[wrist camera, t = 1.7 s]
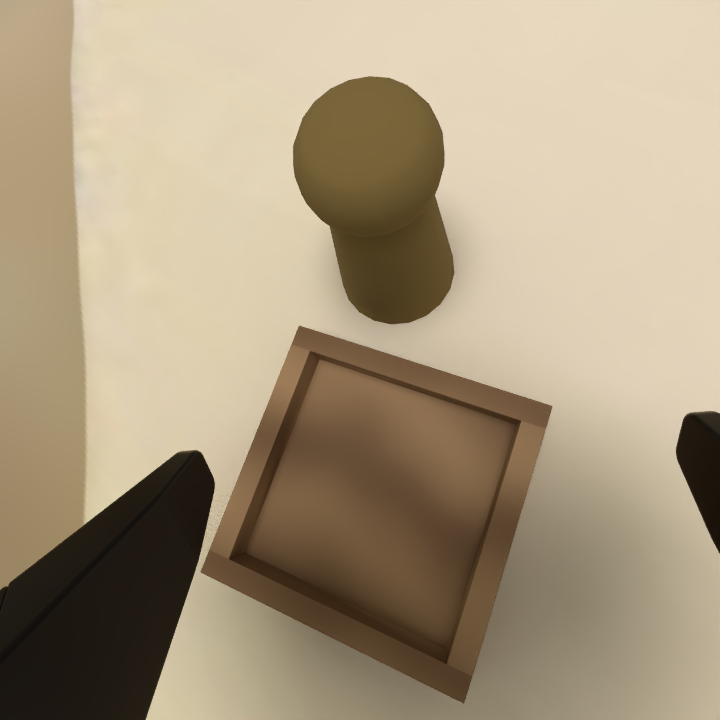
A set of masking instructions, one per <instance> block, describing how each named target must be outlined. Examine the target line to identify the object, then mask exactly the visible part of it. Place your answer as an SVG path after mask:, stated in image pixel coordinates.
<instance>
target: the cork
mask: <svg viewBox="0 0 720 720" xmlns="http://www.w3.org/2000/svg"><path fill="white" fill-rule="evenodd" d="M293 166H294V174H295V178H296V181H297V183H298V186H299V189H300V191H301V194H302V196H303V198H304V200H305V201H306V203H307V205H308V206H309V207H310V208H311V209H312V210H313V211H314V213H315V214H316V215H317V216H318V217H319V218H320V219H321V220H322V221H323V222H325V223H326V224H327V225H329V226H330V229H331V234H332V238H333V242H334V247H335V251H336V255H337V260H338V264H339V269H340V273H341V277H342V282H343V286H344V288H345V291H346V293H347V296H348V299H349V300H350V301H351V303H352V304H353V305H354V306H355V307H356V308H357V310H358V311H359V312H360V313H362V314H364V315H366V316H367V317H369V318H371V319H372V320H374V321H379V322H384V323H388V324H398V323H409V322H412V321H414V320H416V319H419V318H421V317H424V316H426V315H427V314H429V313H430V312H431V311H432V310H434V309H435V308H436V307H437V306H438V305H440V304H441V302H442V301H443V299H444V297H445V296H446V294H447V293H448V291H449V290H450V287H451V283H452V279H453V275H454V266H453V256H452V252H451V249H450V245H449V242H448V238H447V235H446V232H445V228H444V225H443V221H442V218H441V214H440V211H439V207H438V204H437V201H436V197H435V193H436V191H437V188H438V186H439V182H440V179H441V175H442V171H443V168H444V144H443V133H442V130H441V128H440V125H439V122H438V120H437V118H436V116H435V114H434V113H433V111H432V109H431V107H430V105H429V103H427V102H426V101H425V100H424V99H423V98H422V97H421V96H420V95H418V94H417V93H416V92H415V91H414V90H413V89H411V88H410V87H409V86H408V85H405V84H403V83H400V82H398V81H396V80H393V79H391V78H383V77H371V76H369V77H363V78H358V79H353V80H348V81H346V82H344V83H342V84H340V85H338V86H335V87H333V88H331V89H329V90H328V91H327V92H326V93H325V94H323V95H322V96H321V97H320V98H318V99H317V100H316V101H315V102H314V103H313V104H312V106H311V107H310V109H309V110H308V111H307V113H306V114H305V116H304V117H303V119H302V122H301V125H300V127H299V130H298V133H297V136H296V139H295V142H294V145H293Z"/></svg>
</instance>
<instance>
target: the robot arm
mask: <svg viewBox="0 0 720 720" xmlns="http://www.w3.org/2000/svg"><path fill="white" fill-rule="evenodd" d="M676 456H677V460H678V463H679V465H680V467H681V470H682V472H683V474H684V477H685V479H686V481H687V483H688V486H689V488H690V490H691V493H692V495H693V497H694V499H695V502H696V504H697V506H698V509H699V511H700V513H701V516H702V518H703V520H704V522H705V525H706V527H707V529H708V531H709V533H710V536H711V538H712V540H713V542H714V544H715V546H716V548H717V549H718V551H719V553H720V413H717V412H714V411H705V412H692V413H689V414H687V415H686V416H685V417H684V419H683V422H682V426H681V430H680V434H679V439H678V443H677V447H676ZM214 489H215V482H214V478H213V475H212V473H211V471H210V469H209V467H208V465H207V463H206V461H205V459H204V457H203V455H202V453H201V452H199V451H197V450H191V451H181V452H178V453H176V454H175V455H174V456H173V457H171V458H170V459H169V460H167V461H166V462H165V463H163V464H162V465H161V466H160V467H158V468H157V469H156V470H154V471H153V472H152V473H151V474H149V475H148V476H147V477H145V478H144V479H143V480H142V481H140V482H139V483H138V484H136V485H135V486H134V487H133V488H131V489H130V490H129V491H127V492H126V493H125V494H124V495H122V496H121V497H120V498H118V499H117V500H116V501H114V502H113V503H112V504H111V505H109V506H108V507H107V508H105V509H104V510H103V511H102V512H100V513H99V514H98V515H96V516H95V517H94V518H93V519H91V520H90V521H89V522H87V523H86V524H85V525H84V526H82V527H81V528H80V529H78V530H77V531H76V532H74V533H73V534H72V535H71V536H69V537H68V538H67V539H65V540H64V541H63V542H62V543H60V544H59V545H58V546H56V547H55V548H54V549H53V550H52V551H50V552H49V553H47V554H46V555H45V556H44V557H42V558H41V559H40V560H38V561H37V562H36V563H35V564H34V565H32V566H31V567H29V568H28V569H27V570H25V571H24V572H23V573H22V574H20V575H19V576H18V577H17V578H15V579H14V580H13V581H11V582H10V583H9V586H6V587H3V588H2V589H1V590H0V720H146V717H147V714H148V711H149V708H150V705H151V702H152V699H153V696H154V693H155V690H156V687H157V684H158V681H159V678H160V675H161V672H162V669H163V666H164V663H165V660H166V657H167V654H168V651H169V648H170V645H171V642H172V639H173V636H174V633H175V630H176V627H177V624H178V621H179V618H180V615H181V612H182V609H183V606H184V603H185V600H186V597H187V594H188V591H189V588H190V585H191V582H192V579H193V576H194V573H195V570H196V566H197V563H198V560H199V556H200V552H201V548H202V544H203V539H204V535H205V530H206V526H207V521H208V517H209V512H210V508H211V503H212V499H213V494H214Z"/></svg>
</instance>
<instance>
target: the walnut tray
mask: <svg viewBox="0 0 720 720" xmlns="http://www.w3.org/2000/svg"><path fill="white" fill-rule="evenodd" d="M551 409H552V406H550V405H547V404H544V403H541V402H538V401H535V400H531V399H528V398H525V397H522V396H519V395H516V394H513V393H509V392H506V391H503V390H500V389H497V388H494V387H491V386H487V385H484V384H481V383H478V382H475V381H472V380H469V379H465V378H462V377H459V376H456V375H453V374H450V373H447V372H443V371H440V370H437V369H434V368H431V367H428V366H424V365H421V364H418V363H415V362H412V361H409V360H406V359H402V358H399V357H396V356H393V355H390V354H387V353H384V352H380V351H377V350H374V349H371V348H368V347H365V346H362V345H358V344H355V343H352V342H349V341H346V340H343V339H340V338H336V337H333V336H330V335H327V334H324V333H321V332H318V331H314V330H311V329H308V328H305V327H302V326H299V327H298V330H297V332H296V335H295V337H294V340H293V342H292V345H291V347H290V350H289V352H288V355H287V357H286V360H285V362H284V365H283V367H282V370H281V372H280V375H279V377H278V380H277V382H276V385H275V387H274V390H273V392H272V395H271V397H270V400H269V402H268V405H267V407H266V410H265V412H264V415H263V417H262V420H261V422H260V425H259V427H258V430H257V432H256V435H255V437H254V440H253V442H252V445H251V447H250V450H249V452H248V455H247V457H246V460H245V462H244V465H243V467H242V470H241V472H240V475H239V477H238V480H237V482H236V485H235V487H234V490H233V492H232V495H231V497H230V500H229V502H228V505H227V507H226V510H225V512H224V515H223V517H222V520H221V522H220V525H219V527H218V530H217V532H216V535H215V537H214V540H213V542H212V545H211V547H210V550H209V552H208V555H207V557H206V560H205V562H204V565H203V567H202V570H201V573H203V574H205V575H207V576H209V577H211V578H213V579H215V580H217V581H219V582H221V583H223V584H225V585H227V586H229V587H231V588H233V589H235V590H237V591H239V592H241V593H243V594H245V595H247V596H249V597H251V598H253V599H255V600H257V601H259V602H261V603H263V604H265V605H267V606H269V607H271V608H273V609H275V610H277V611H279V612H281V613H283V614H285V615H287V616H289V617H291V618H293V619H295V620H297V621H299V622H301V623H303V624H305V625H307V626H309V627H311V628H313V629H316V630H318V631H320V632H322V633H324V634H326V635H328V636H330V637H332V638H334V639H336V640H338V641H340V642H342V643H344V644H346V645H348V646H350V647H352V648H354V649H356V650H358V651H360V652H362V653H364V654H366V655H368V656H370V657H372V658H374V659H376V660H378V661H380V662H382V663H384V664H386V665H388V666H390V667H392V668H394V669H396V670H398V671H400V672H402V673H404V674H406V675H408V676H410V677H412V678H414V679H416V680H418V681H420V682H422V683H424V684H426V685H428V686H430V687H432V688H434V689H436V690H438V691H440V692H442V693H444V694H446V695H448V696H450V697H452V698H454V699H456V700H458V701H460V702H462V703H464V702H465V699H466V695H467V692H468V689H469V685H470V682H471V679H472V675H473V672H474V668H475V665H476V662H477V658H478V655H479V652H480V648H481V645H482V642H483V638H484V635H485V631H486V628H487V625H488V621H489V618H490V615H491V611H492V608H493V605H494V601H495V598H496V594H497V591H498V588H499V584H500V581H501V578H502V574H503V571H504V567H505V564H506V561H507V557H508V554H509V551H510V547H511V544H512V541H513V537H514V534H515V530H516V527H517V524H518V520H519V517H520V514H521V510H522V507H523V504H524V500H525V497H526V493H527V490H528V487H529V483H530V480H531V477H532V473H533V470H534V466H535V463H536V460H537V456H538V453H539V450H540V446H541V443H542V440H543V436H544V433H545V429H546V426H547V423H548V419H549V416H550V413H551Z"/></svg>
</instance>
